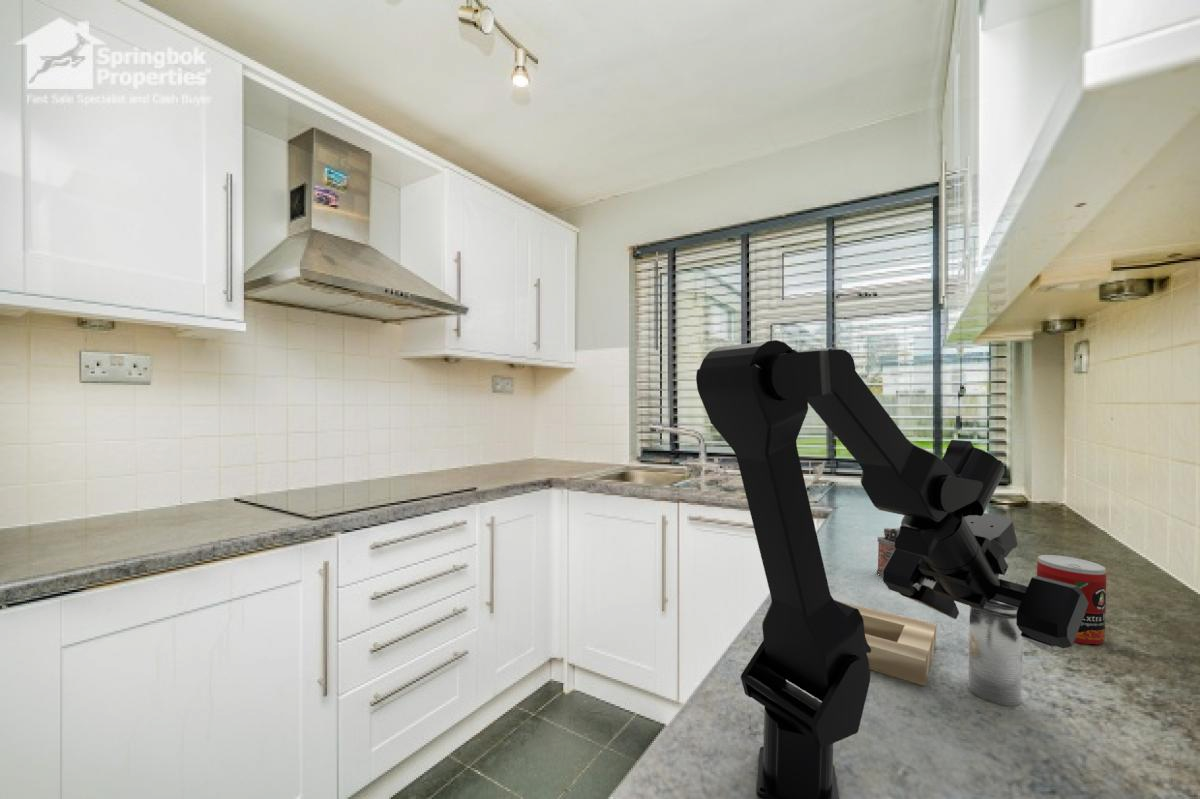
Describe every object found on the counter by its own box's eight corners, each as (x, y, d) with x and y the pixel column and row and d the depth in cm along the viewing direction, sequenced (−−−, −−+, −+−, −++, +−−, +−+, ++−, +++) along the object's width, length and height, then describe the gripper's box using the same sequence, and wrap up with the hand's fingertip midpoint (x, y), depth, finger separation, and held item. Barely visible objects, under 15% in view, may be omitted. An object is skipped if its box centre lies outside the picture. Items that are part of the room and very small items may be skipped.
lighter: (872, 574, 106) (873, 525, 106) (883, 572, 107) (885, 523, 107) (910, 587, 98) (912, 534, 98) (922, 584, 100) (923, 533, 100)
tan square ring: (925, 686, 62) (925, 661, 62) (805, 649, 71) (805, 627, 71) (936, 645, 74) (936, 624, 74) (831, 618, 82) (831, 599, 82)
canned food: (1082, 648, 74) (1084, 571, 74) (1023, 625, 82) (1024, 555, 82) (1118, 643, 76) (1120, 568, 76) (1057, 621, 84) (1058, 553, 84)
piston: (1030, 710, 58) (1032, 603, 58) (975, 700, 60) (977, 596, 60) (1011, 687, 63) (1013, 588, 63) (961, 678, 65) (963, 582, 65)
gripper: (1081, 507, 51) (1124, 601, 56) (896, 480, 67) (942, 555, 73) (1042, 600, 47) (1092, 692, 52) (856, 547, 64) (908, 621, 69)
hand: (997, 629), depth 62 cm, fingers open, 9 cm apart
